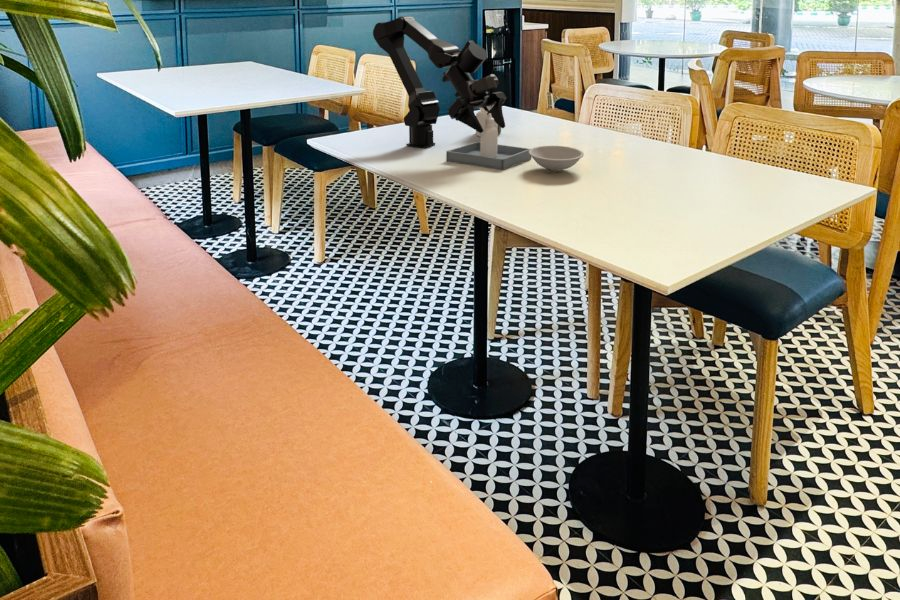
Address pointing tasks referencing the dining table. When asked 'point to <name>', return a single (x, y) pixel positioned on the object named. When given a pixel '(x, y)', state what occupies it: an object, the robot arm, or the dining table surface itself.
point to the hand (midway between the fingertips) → (493, 129)
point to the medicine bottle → (481, 118)
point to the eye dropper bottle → (489, 138)
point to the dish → (556, 157)
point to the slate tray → (503, 160)
